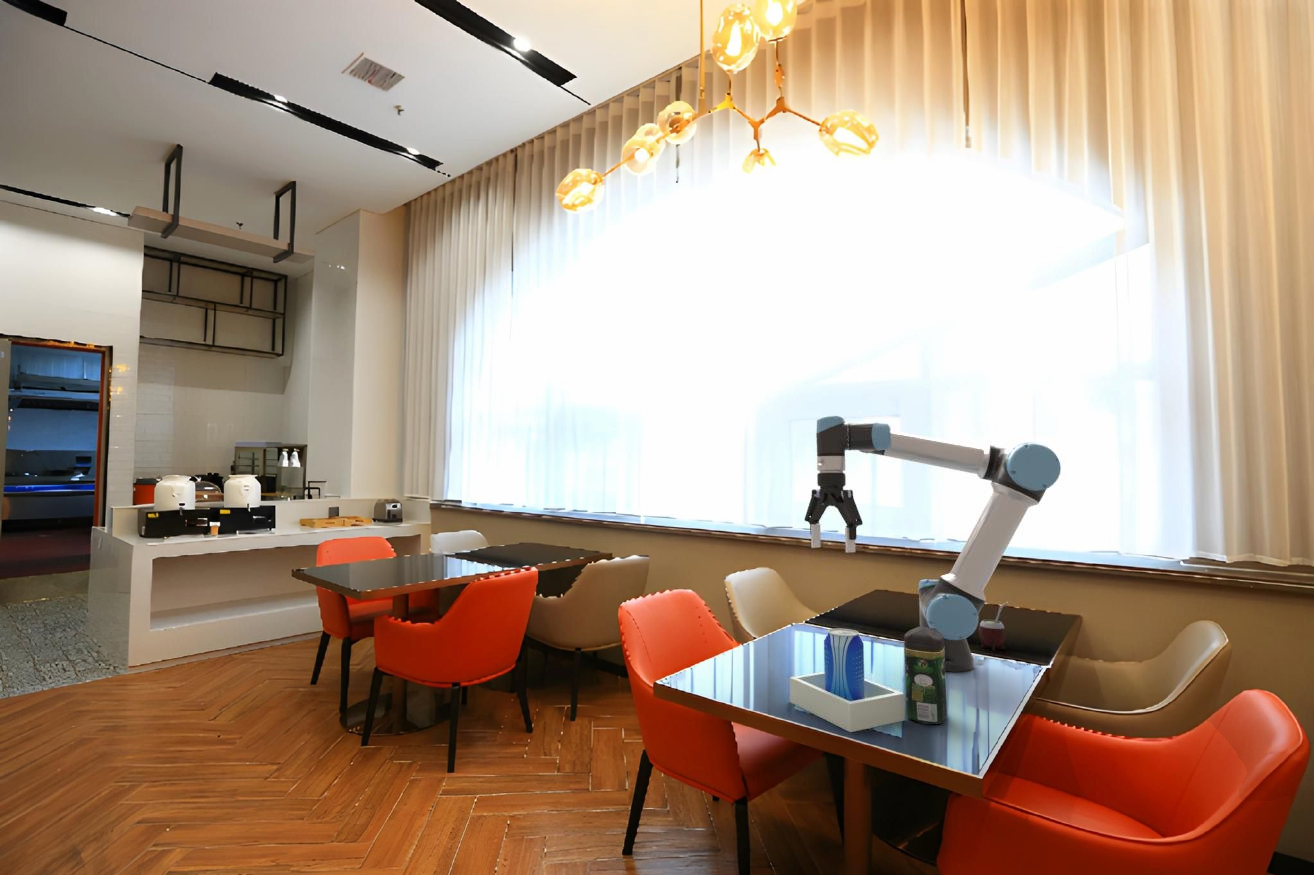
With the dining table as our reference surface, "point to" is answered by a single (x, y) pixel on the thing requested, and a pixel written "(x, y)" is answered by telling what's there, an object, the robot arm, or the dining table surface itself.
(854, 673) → the beer can
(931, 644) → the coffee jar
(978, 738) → the dining table surface
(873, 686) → the tote
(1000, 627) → the mate gourd
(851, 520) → the robot arm
